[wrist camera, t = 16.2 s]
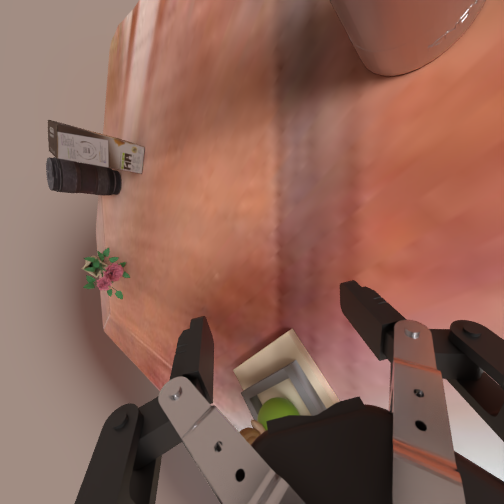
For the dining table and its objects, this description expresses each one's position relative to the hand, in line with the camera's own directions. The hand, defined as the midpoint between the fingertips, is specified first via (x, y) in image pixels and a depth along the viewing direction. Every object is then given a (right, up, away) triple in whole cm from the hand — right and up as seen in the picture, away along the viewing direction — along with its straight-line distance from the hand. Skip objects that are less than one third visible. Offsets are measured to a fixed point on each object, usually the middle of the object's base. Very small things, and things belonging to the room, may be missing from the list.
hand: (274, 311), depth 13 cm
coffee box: (-30, +27, +44) cm, 60 cm away
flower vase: (-43, -1, +58) cm, 72 cm away
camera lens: (-41, +24, +53) cm, 71 cm away
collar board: (+5, -18, +17) cm, 26 cm away
